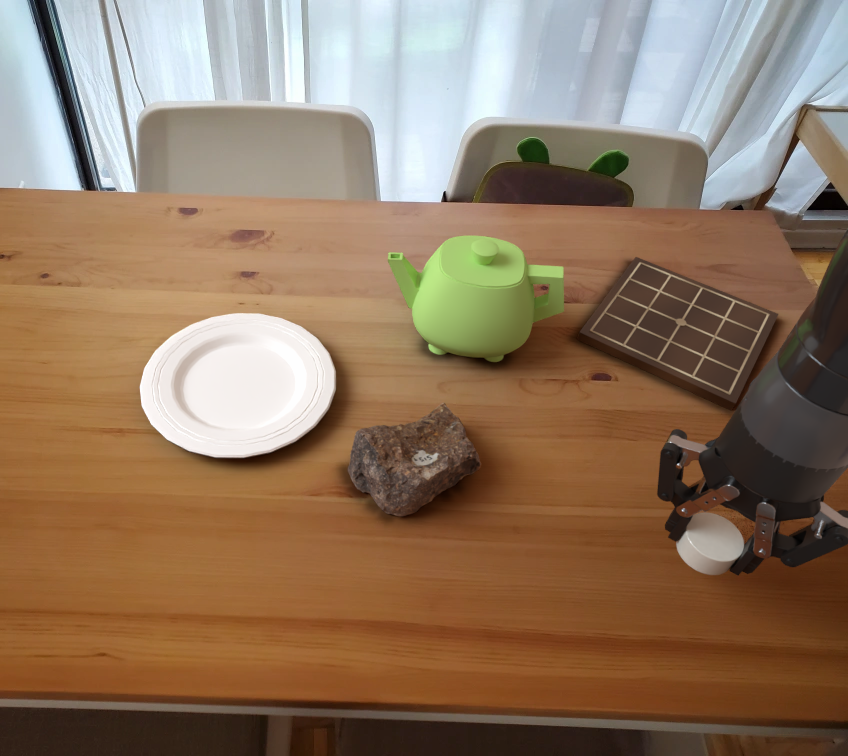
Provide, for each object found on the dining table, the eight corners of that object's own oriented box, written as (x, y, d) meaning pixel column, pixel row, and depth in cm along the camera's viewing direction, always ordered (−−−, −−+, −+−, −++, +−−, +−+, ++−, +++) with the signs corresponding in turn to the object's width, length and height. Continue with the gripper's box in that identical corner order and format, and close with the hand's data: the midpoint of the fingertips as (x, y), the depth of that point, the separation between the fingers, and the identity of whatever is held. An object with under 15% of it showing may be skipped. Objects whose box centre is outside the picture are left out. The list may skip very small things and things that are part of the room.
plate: (101, 401, 77) (97, 389, 75) (235, 299, 88) (234, 287, 87) (246, 504, 68) (245, 493, 67) (374, 378, 80) (375, 366, 78)
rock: (449, 422, 76) (454, 381, 71) (496, 475, 71) (505, 435, 66) (344, 474, 71) (342, 435, 67) (387, 534, 67) (388, 496, 62)
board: (774, 321, 88) (779, 313, 87) (731, 410, 78) (736, 402, 77) (632, 263, 95) (636, 255, 94) (576, 339, 85) (579, 331, 84)
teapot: (374, 360, 82) (381, 274, 72) (389, 285, 91) (397, 199, 81) (553, 385, 80) (583, 299, 70) (549, 305, 89) (577, 220, 79)
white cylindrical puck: (739, 546, 61) (751, 531, 60) (723, 585, 59) (735, 571, 57) (686, 517, 63) (696, 502, 61) (667, 555, 61) (678, 540, 59)
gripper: (677, 405, 49) (607, 535, 62) (911, 514, 43) (781, 633, 56) (712, 344, 53) (640, 477, 66) (930, 436, 47) (805, 563, 60)
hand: (705, 548), depth 61 cm, fingers closed on white cylindrical puck, 4 cm apart
